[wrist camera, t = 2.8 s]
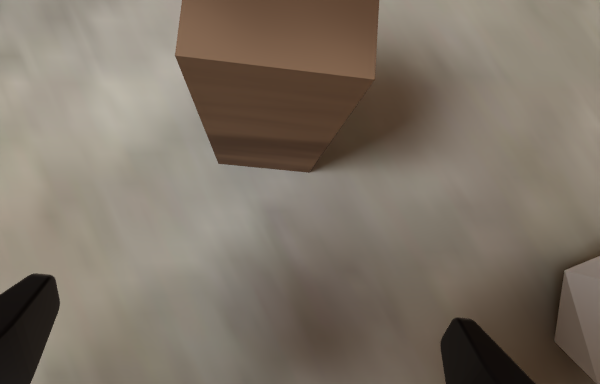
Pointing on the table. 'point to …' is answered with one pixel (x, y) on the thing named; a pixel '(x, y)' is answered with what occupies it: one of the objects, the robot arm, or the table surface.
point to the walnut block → (276, 74)
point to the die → (581, 317)
